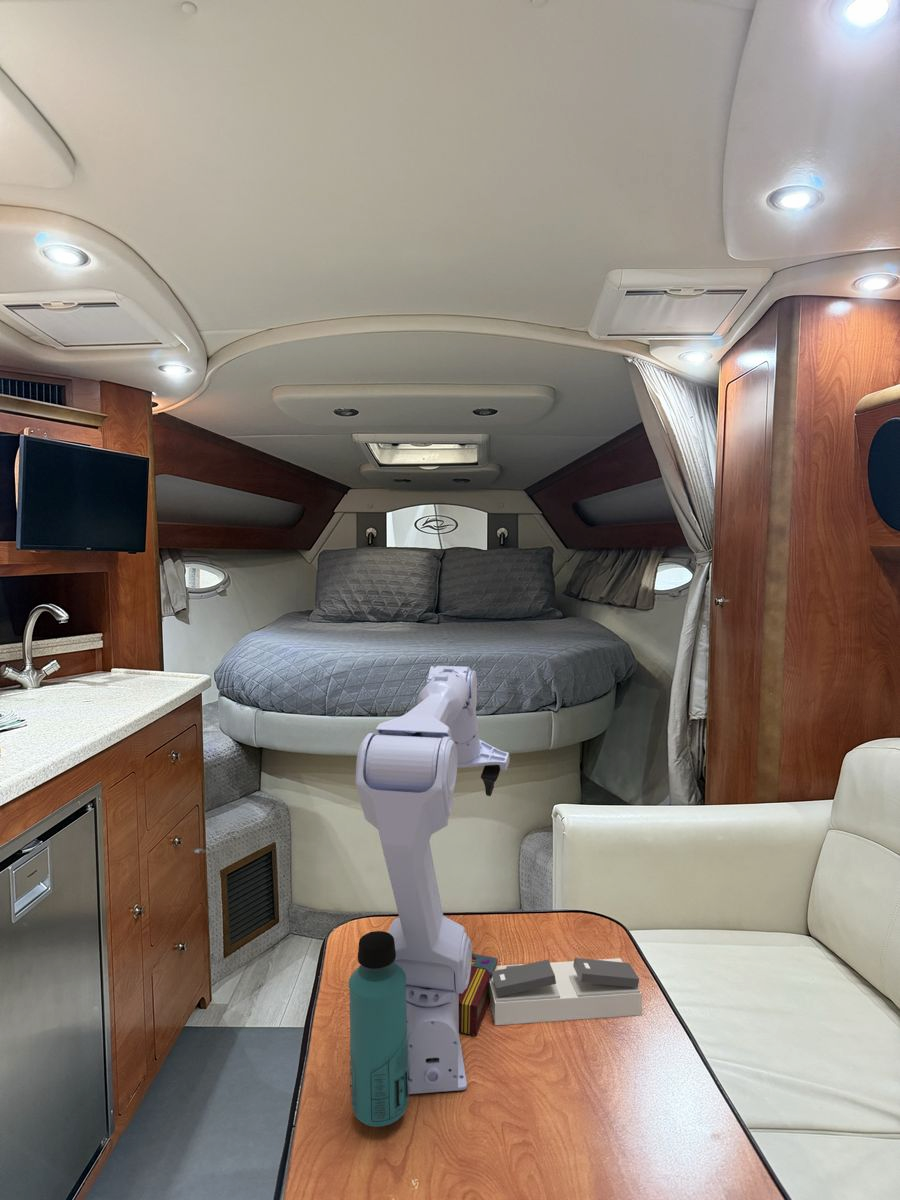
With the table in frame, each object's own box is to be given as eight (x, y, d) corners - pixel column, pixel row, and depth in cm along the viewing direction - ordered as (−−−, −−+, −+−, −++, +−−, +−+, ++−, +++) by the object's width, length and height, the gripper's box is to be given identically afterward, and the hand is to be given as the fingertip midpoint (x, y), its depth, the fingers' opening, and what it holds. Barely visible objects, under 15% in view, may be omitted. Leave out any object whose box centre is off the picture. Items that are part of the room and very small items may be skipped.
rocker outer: (637, 987, 88) (639, 978, 88) (580, 982, 87) (582, 972, 87) (627, 971, 91) (629, 962, 91) (573, 966, 91) (574, 957, 91)
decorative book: (476, 1041, 83) (477, 1003, 83) (361, 1013, 88) (362, 977, 88) (497, 987, 94) (497, 954, 94) (393, 965, 99) (394, 933, 99)
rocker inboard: (556, 983, 87) (554, 974, 87) (497, 996, 86) (496, 987, 86) (549, 967, 90) (548, 958, 90) (493, 979, 90) (491, 970, 89)
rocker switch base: (641, 1015, 88) (641, 991, 87) (495, 1025, 86) (495, 1001, 86) (620, 978, 96) (620, 956, 95) (485, 986, 94) (485, 964, 93)
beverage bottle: (401, 1147, 67) (398, 959, 67) (340, 1136, 69) (337, 952, 68) (416, 1097, 74) (414, 925, 73) (361, 1088, 75) (358, 919, 74)
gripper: (512, 718, 99) (516, 775, 107) (424, 703, 104) (434, 758, 112) (500, 753, 94) (505, 811, 102) (407, 736, 98) (420, 792, 106)
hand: (467, 786), depth 106 cm, fingers open, 7 cm apart
